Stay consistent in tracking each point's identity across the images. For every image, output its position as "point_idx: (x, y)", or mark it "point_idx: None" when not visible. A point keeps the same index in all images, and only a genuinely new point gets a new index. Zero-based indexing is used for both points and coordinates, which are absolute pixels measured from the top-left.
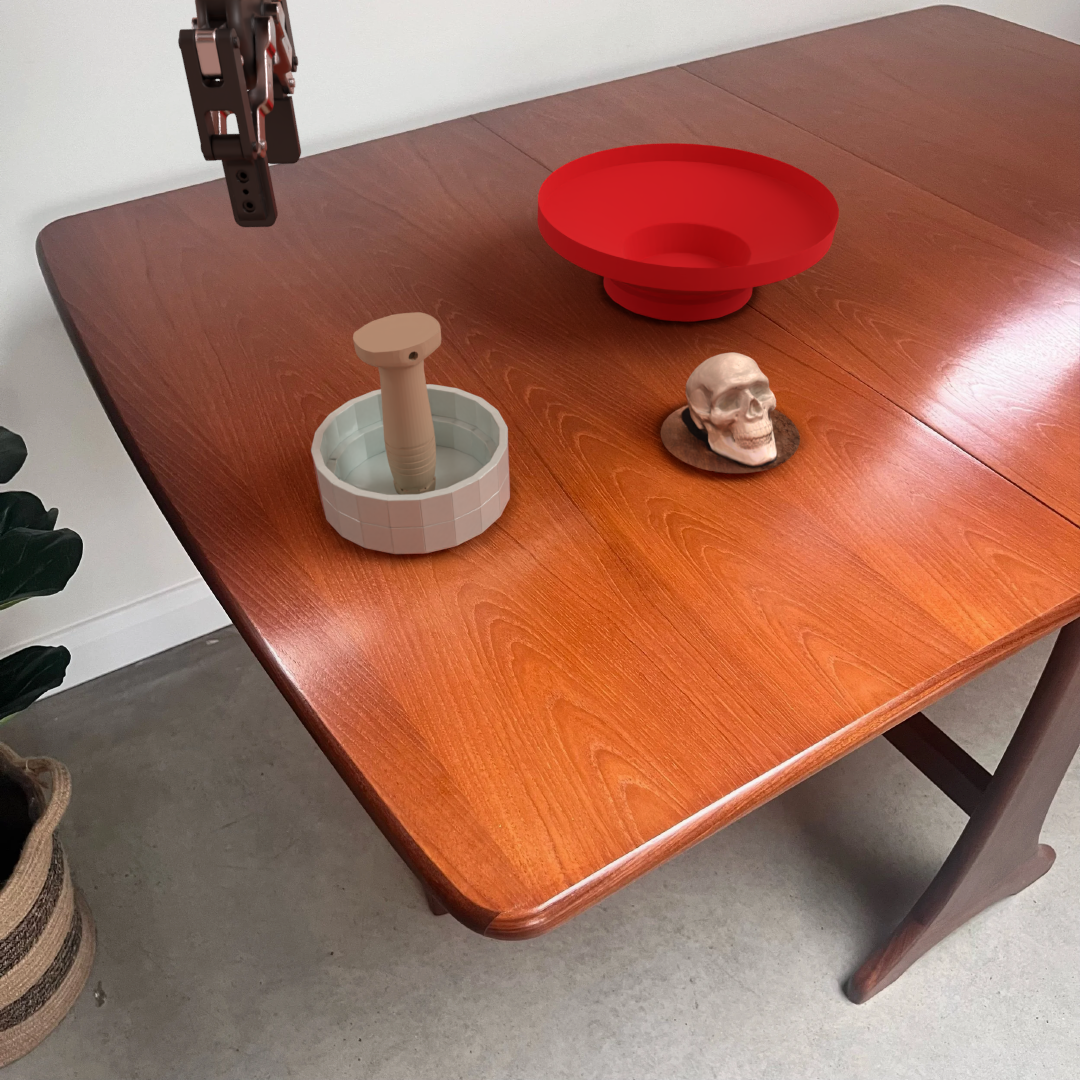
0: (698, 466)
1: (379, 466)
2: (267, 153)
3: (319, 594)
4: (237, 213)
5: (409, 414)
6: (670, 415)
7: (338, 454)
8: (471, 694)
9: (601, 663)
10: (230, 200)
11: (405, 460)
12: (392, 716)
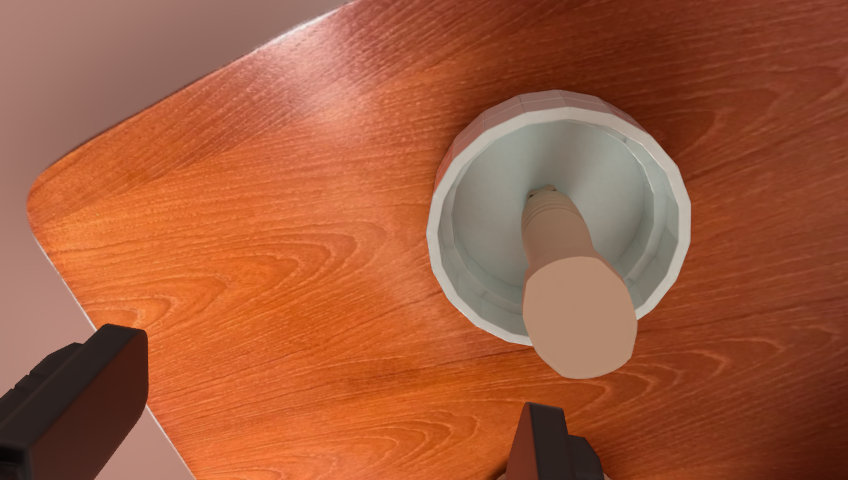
0: (503, 475)
1: (611, 168)
2: (527, 425)
3: (398, 76)
4: (47, 356)
5: (529, 263)
6: (606, 476)
7: (605, 129)
8: (237, 214)
9: (263, 326)
10: (72, 356)
11: (523, 223)
12: (215, 140)
